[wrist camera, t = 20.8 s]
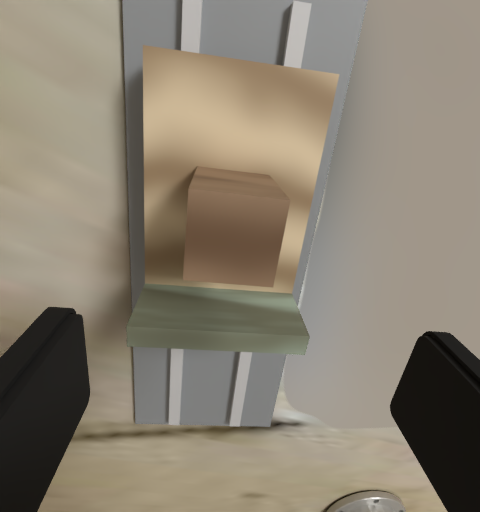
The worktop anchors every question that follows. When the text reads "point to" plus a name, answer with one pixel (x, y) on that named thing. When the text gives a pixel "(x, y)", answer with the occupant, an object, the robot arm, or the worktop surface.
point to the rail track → (135, 36)
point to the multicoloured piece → (228, 158)
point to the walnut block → (234, 227)
